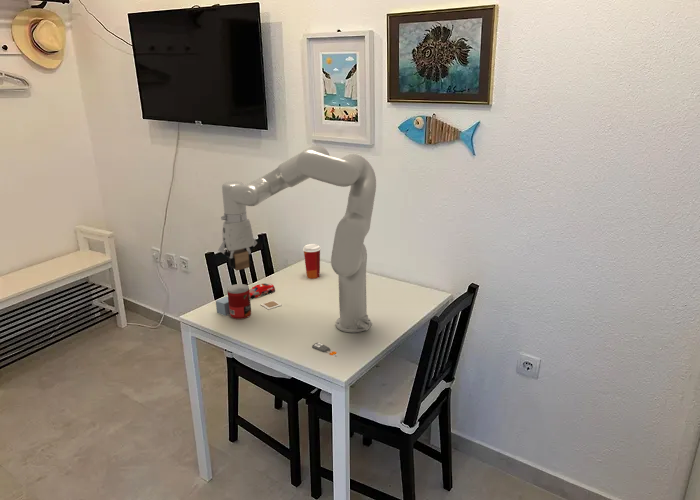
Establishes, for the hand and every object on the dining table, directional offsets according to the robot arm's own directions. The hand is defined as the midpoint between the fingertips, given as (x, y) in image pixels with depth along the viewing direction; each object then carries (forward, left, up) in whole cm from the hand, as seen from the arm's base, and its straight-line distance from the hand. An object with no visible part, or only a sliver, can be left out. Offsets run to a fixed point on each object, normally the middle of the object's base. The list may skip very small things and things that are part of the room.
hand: (239, 265), depth 194 cm
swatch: (+2, -12, -20) cm, 24 cm away
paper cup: (+16, -41, -20) cm, 49 cm away
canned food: (+2, +1, -20) cm, 20 cm away
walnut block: (0, 0, -1) cm, 1 cm away
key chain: (-42, -9, -21) cm, 48 cm away
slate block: (+8, +4, -20) cm, 22 cm away
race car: (+14, -14, -21) cm, 29 cm away
